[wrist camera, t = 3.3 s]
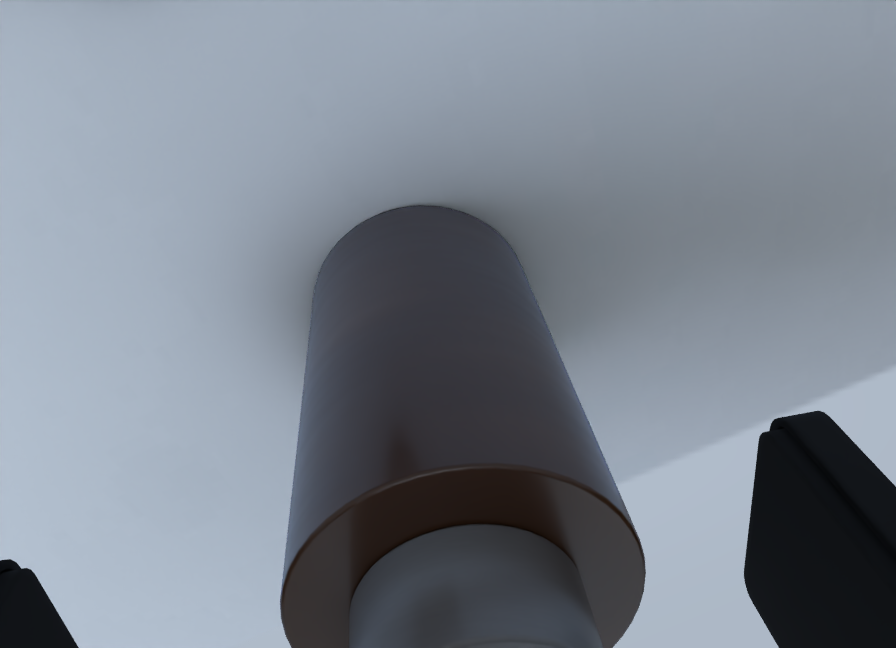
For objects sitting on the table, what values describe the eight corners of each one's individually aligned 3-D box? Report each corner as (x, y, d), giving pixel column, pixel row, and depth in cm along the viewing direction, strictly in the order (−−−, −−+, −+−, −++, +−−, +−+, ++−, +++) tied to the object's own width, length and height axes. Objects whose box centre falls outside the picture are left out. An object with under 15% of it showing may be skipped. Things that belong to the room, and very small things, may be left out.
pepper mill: (518, 188, 14) (708, 542, 7) (533, 375, 17) (687, 802, 9) (290, 224, 14) (209, 626, 6) (336, 406, 16) (318, 868, 9)
